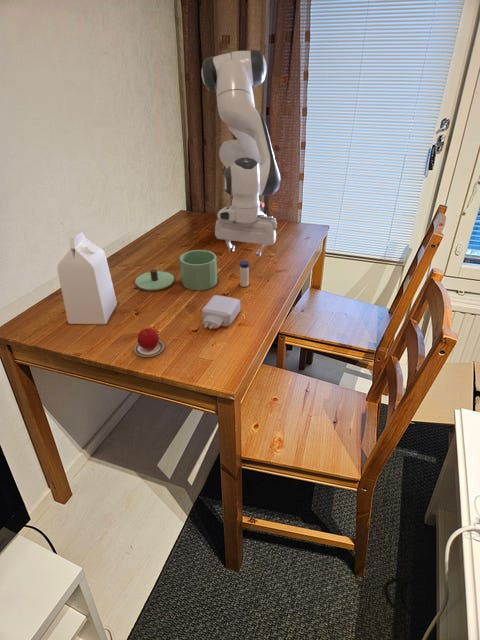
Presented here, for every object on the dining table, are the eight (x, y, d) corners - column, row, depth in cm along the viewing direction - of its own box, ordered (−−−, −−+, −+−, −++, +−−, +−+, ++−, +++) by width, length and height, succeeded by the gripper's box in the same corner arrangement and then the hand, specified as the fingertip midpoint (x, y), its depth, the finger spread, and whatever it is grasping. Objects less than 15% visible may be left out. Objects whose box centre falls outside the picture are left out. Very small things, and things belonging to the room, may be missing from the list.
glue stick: (243, 281, 147) (243, 259, 142) (250, 284, 145) (250, 262, 140) (238, 285, 144) (238, 263, 140) (245, 287, 143) (245, 265, 138)
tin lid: (156, 270, 154) (154, 259, 151) (182, 281, 147) (181, 269, 145) (127, 284, 145) (125, 272, 142) (153, 295, 138) (152, 283, 135)
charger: (193, 332, 120) (213, 307, 132) (222, 338, 117) (240, 312, 129) (192, 318, 118) (212, 294, 129) (222, 324, 115) (240, 299, 127)
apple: (128, 354, 111) (125, 334, 108) (144, 338, 117) (141, 319, 114) (154, 360, 109) (151, 340, 105) (169, 344, 115) (167, 324, 111)
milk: (82, 303, 134) (63, 226, 120) (117, 303, 134) (102, 226, 120) (68, 323, 124) (46, 242, 110) (105, 324, 124) (88, 242, 109)
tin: (198, 270, 154) (196, 247, 149) (224, 280, 148) (223, 255, 142) (174, 283, 146) (171, 258, 140) (200, 293, 139) (199, 268, 134)
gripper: (279, 213, 131) (277, 254, 138) (219, 207, 136) (220, 246, 143) (274, 220, 126) (272, 261, 133) (212, 213, 131) (213, 253, 138)
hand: (245, 253), depth 138 cm, fingers open, 8 cm apart
